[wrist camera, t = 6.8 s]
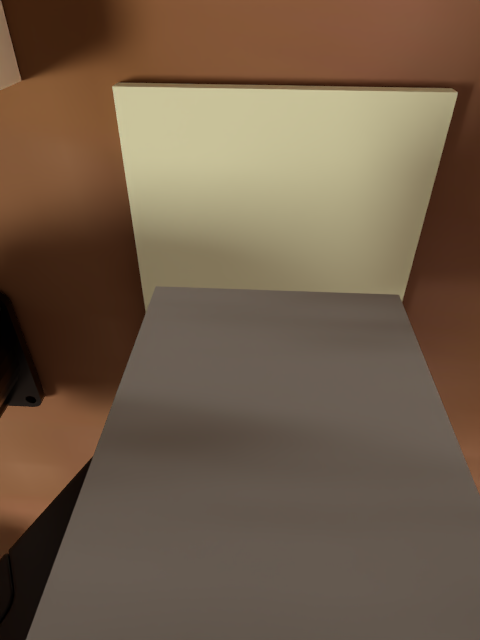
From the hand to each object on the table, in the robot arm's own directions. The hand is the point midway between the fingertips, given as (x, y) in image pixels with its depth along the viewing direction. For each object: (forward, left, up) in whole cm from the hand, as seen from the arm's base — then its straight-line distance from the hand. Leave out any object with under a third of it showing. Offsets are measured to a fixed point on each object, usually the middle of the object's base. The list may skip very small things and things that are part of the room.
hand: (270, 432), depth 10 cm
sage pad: (0, 0, -9) cm, 9 cm away
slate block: (0, 0, -2) cm, 2 cm away
